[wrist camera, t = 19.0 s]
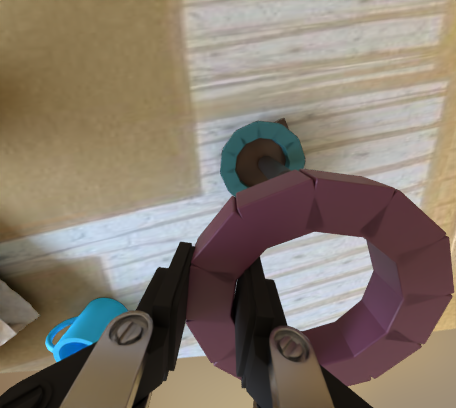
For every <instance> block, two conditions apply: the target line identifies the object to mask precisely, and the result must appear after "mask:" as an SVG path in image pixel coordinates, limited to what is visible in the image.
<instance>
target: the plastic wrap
mask: <svg viewBox="0 0 456 408" xmlns="http://www.w3.org/2000/svg"><path fill="white" fill-rule="evenodd" d="M31 306H32V305H31V304H30V303H28V302H26V301H25V300H24V299H23V298H22V297H20V295H18V293H15V291H12V290H11V289H10V288H9V287H8V286H7V285H6V283H5V282H3V281H1V279H0V346H1V345H3V344H4V343H5V342H7V341H8V340H9V339H11V338H12V337H13V336H15V335H16V333H17V334H18V332H19V330H21V329H22V328H24V327H25V326H27V324H29V323H31V321H33V320H34V319H37V317H38V316H40V315H38V313H39V312H36V311H37V310H36V311H35V310H34V309H33V308H32V307H31ZM34 321H35V320H34Z"/></svg>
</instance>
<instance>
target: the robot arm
mask: <svg viewBox="0 0 456 408" xmlns="http://www.w3.org/2000/svg"><path fill="white" fill-rule="evenodd" d="M194 250H195V246H192V243H186V242H180V243H179V246H178V248H177V250H176V252H175V255H174V257H173V259H172V262H171V264H170V266H169V268H161V267H159V268H157V270H156V272H155V274H154V276H153V278H152V280H151V282H150V283H149V285H148V287H147V289H146V291H145V293H144V295H143V297H142V299H141V301H140V303H139V305H138V307H137V309H136V310H135V311H128V312H125V313H122V314H120V315H118V316H116V317H115V318H114V319H113V320H111V321H110V323H109V324H108V325H107V327H106V328H105V330H104V331H103V333H102V335H101V337H100V338H99V340H98V341H97V342H95V343H93V344H91V345H89V346H87V347H85V348H83V349H81V350H80V351H78V352H76V353H74V354H72V355H70V356H68V357H66V358H64V359H62V360H60V361H59V362H57V363H55V364H53V365H51V366H49V367H47V368H45V369H43V370H41V371H40V372H38V373H36V374H34V375H32V376H30V377H28V378H26V379H24V380H22V381H20V382H19V383H17V384H16V385H14V386H13V387H11V388H9V389H8V390H7V391H6V392H5V393H4V394H2V395H1V396H0V408H148V407H149V403H150V399H151V396H152V391H153V390H154V389H156V388H157V387H158V386H160V385H161V384H162V382H163V381H166V380H167V376H168V372H169V370H170V371H174V369H175V365H176V361H177V356H178V352H179V348H180V343H181V339H182V335H183V330H184V326H185V321H186V310H187V298H188V285H189V273H190V265H191V260H192V257H193V253H194ZM234 305H235V351H236V376H237V377H241V381H242V382H241V383H242V388H246V390H247V392H248V393H249V395H250V396H251V397H252V398H253V399H254V402H253V408H373V407H372V406H370V405H369V404H368V403H367V402H365V401H364V400H363V399H362V398H361V397H359V396H358V395H357V394H356V393H355V392H353V391H352V390H351V389H350V388H348V387H347V386H346V385H345V384H344V383H342V382H341V381H340V380H339V379H337V378H336V377H335V376H334V375H333V374H331V373H330V372H329V371H328V370H326V369H325V368H324V367H323V366H322V365H320V364H319V362H318V360H317V357H316V354H315V351H314V348H313V346H312V344H311V342H310V340H309V339H308V338H307V337H306V336H305V335H304V334H303V333H302V332H301V331H299V330H297V329H295V328H293V327H290V326H287V322H286V319H285V315H284V312H283V309H282V305H281V302H280V299H279V295H278V292H277V289H276V285H275V282H274V280H271V279H265V276H264V272H263V268H262V264H261V260H260V256H259V257H258V258H257V259H256V260H255V262H254V263H253V264H252V265H251V266H250V267H249V268H248V269H247V270H245V272H244V273H243V274H242V275H241V276H240V277H239V279H238V280H237V285H236V291H235V298H234Z"/></svg>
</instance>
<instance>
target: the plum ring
mask: <svg viewBox="0 0 456 408" xmlns="http://www.w3.org/2000/svg"><path fill="white" fill-rule="evenodd" d="M312 232H323V233H331V234H340V235H348V236H356V237H363V238H365V239H366V240H367V245H368V249H369V253H370V257H371V262H372V266H373V270H374V271H373V273H372V276H371V278H370V281H369V283H368V285H367V288H366V290H365V293H364V295H363V298H362V300H361V301H360V302H358V303H357V304H356V305H355V306H354V307H352V308H351V309H350V310H349V311H348V312H346V313H345V314H344V315H343V316H341V317H340V318H339V319H338V320H337V321H335V322H333V323H329V324H326V325H323V326H319V327H316V328H312V329H309V330H306V331H301V332H302V333H303V334H304V335H305V336H306V337H307V338H308V339H309V340H310V342H311V344H312V346H313V348H314V351H315V354H316V357H317V360H318V362H319V364H320V365H322V366H323V367H324V368H325V369H326V370H328V371H329V372H330V373H331V374H333V375H334V376H335V377H336V378H337V379H339V380H340V381H341V382H342V383H344V384H345V385H346V386H351V385H355V384H359V383H362V382H367V381H370V380H371V377H373V378H374V379H375V378H377V377H379V376H380V375H382V374H383V373H384V372H386V371H387V370H389V369H390V368H392V367H393V366H395V365H396V364H398V363H399V362H400V361H402V360H404V359H405V358H407V357H408V356H409V355H411V354H412V353H414V352H415V351H417V350H418V349H420V348H421V347H422V346H421V344H425V343H426V341H427V339H428V338H429V336H430V334H431V333H432V331H433V329H434V328H435V326H436V324H437V323H438V321H439V319H440V317H441V316H442V314H443V312H444V311H445V309H446V307H447V305H448V304H449V302H450V300H451V299H452V295H451V294H452V293H454V285H453V274H452V263H451V253H450V242H449V237H448V236H446V233H445V231H443V230H442V229H441V228H440V227H439V226H438V225H437V224H436V223H435V222H434V221H433V220H431V219H430V218H429V217H428V216H427V215H426V214H425V213H424V212H423V211H422V210H421V209H419V208H418V207H417V206H416V205H415V204H414V203H413V202H412V201H411V200H410V199H409V198H407V197H406V196H405V195H404V194H403V193H402V192H401V191H400V190H397V189H395V188H393V187H390V186H388V185H385V184H382V183H379V182H376V181H373V180H370V179H368V178H365V177H362V176H354V175H346V174H339V173H331V172H324V171H316V170H308V169H299V171H297V170H292V171H290V172H287V173H285V174H282V175H280V176H277V177H275V178H272V179H270V180H267V181H265V182H262V183H260V184H257V185H255V186H252V187H250V188H247V189H245V190H242V191H240V192H237V193H236V197H234V196H232V197H231V198H230V199H229V200H228V202H227V203H226V204H225V205H224V207H223V208H222V209H221V210H220V212H219V213H218V214H217V215H216V217H215V218H214V219H213V220H212V222H211V223H210V224H209V225H208V226H207V228H206V229H205V230H204V231H203V233H202V234H201V235H200V236H199V238H198V240H197V243H196V244H195V250H194V253H193V257H192V260H191V265H190V273H189V285H188V298H187V310H186V324H187V326H188V327H189V329H190V330H191V332H192V334H193V335H194V337H195V338H196V340H197V341H198V343H199V345H200V346H201V348H202V349H203V351H204V353H205V354H206V356H207V357H208V359H209V361H210V362H211V363H214V366H216V367H218V368H220V369H221V370H223V371H225V372H227V373H229V374H231V375H233V376H234V377H237V376H236V351H235V305H234V298H235V289H236V283H237V280H238V279H239V277H240V276H241V275H242V274H243V273H244V272H245V270H247V269H248V268H249V267H250V266H251V265H252V264H253V263H254V262H255V260H256V259H257V258H258V257H259V256H260V255H261V254H262V253H263V252H264V251H265V250H266V249H267V248H270V247H272V246H275V245H278V244H281V243H284V242H287V241H289V240H292V239H295V238H298V237H301V236H303V235H306V234H309V233H312ZM237 378H238V379H240V380H241V377H237Z"/></svg>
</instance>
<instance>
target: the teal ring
mask: <svg viewBox="0 0 456 408" xmlns="http://www.w3.org/2000/svg"><path fill="white" fill-rule="evenodd" d="M258 138H264V139H272V140H273V141H274V142H276V143H277V144H278V145H279V146H281V147H282V150H283V153H284V156H285V158H286V163H285V167H287V168H288V169H290V170H291V171H292V170H297V171H299V169H303V168H304V164H305V160H304V159H305V156H304V153H303V150H302V147H301V144H300V141H299V139H297V138H298V137H297V136H296V135H294V134H293V133H292V132H291V131H289V130H288V129H287V128H286V127H285V126H283V125H282V124H280V123H273V122H264V121H256V122H253V123H251V124H249V125H247V126H245V127H242V128H240V129H238V130H236V132H234V133H233V135H232V136H231V138H230V139H229V141H228V142H227V143H226V145H225V146H224V148H223V150H222V157H221V168H220V172H221V173H220V174H221V176H222V178H223V180H224V183H225V185H226V187H227V189H228V191H229V192H230V193H231V194H232V195H234V196H235V197H236V193H237V192H240V191H242V190H245V189H247V188H250V187H249V186H248V185H246V184H245V183H244V182H242V181H241V180H240V179H239V176H238V174H237V172H236V169H235V168H236V160H237V155H238V154H239V153H240V151H241V150H242V149H243V147H244V146H245V144H247V143H249V142H252V141H254V140H256V139H258Z"/></svg>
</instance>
